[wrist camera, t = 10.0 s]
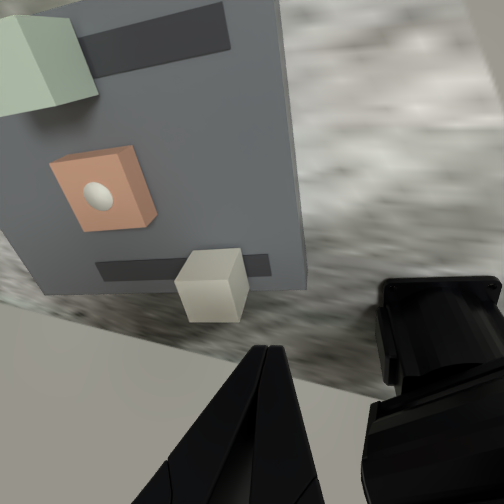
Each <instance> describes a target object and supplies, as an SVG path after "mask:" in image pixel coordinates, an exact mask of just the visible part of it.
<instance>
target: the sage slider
mask: <svg viewBox="0 0 504 504" xmlns="http://www.w3.org/2000/svg"><path fill="white" fill-rule="evenodd" d="M96 95H99V94H98V91H97V88H96V86H95V83H94V81H93V78H92V76H91V73H90V70H89V68H88V65H87V63H86V60H85V58H84V55H83V52H82V50H81V47H80V45H79V42H78V40H77V37H76V34H75V32H74V29H73V27H72V24H71V22H70V19H69V18H58V17H43V16H27V15H12V16H8V17H5V18H1V19H0V117H3V116H8V115H13V114H18V113H23V112H28V111H33V110H38V109H43V108H49V107H54V106H58V105H62V104H66V103H69V102H73V101H77V100H81V99H84V98H88V97H92V96H96Z"/></svg>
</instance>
